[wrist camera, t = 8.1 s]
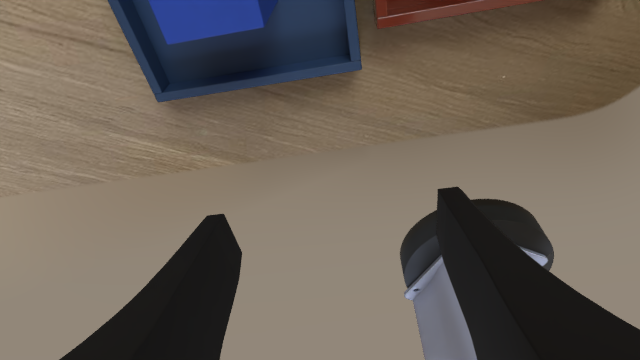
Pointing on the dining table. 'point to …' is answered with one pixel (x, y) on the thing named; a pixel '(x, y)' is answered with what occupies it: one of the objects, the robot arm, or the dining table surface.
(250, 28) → the blue block
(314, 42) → the blue tray
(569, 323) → the robot arm
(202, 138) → the dining table surface
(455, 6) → the terracotta tray
